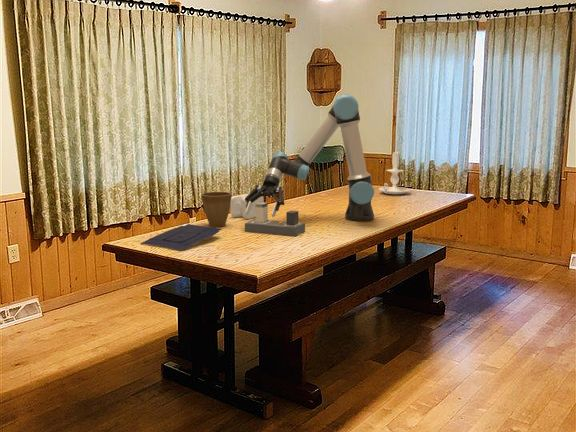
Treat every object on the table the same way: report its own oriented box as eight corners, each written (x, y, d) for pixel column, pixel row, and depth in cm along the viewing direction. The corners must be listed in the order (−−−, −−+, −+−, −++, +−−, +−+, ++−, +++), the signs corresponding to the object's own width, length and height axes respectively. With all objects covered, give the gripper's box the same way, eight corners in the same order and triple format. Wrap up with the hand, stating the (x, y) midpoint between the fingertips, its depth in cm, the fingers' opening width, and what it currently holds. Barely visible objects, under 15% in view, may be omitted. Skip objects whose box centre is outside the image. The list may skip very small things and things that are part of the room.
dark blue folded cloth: (226, 235, 279) (225, 227, 278) (182, 257, 255) (181, 248, 254) (185, 229, 291) (184, 221, 290) (140, 249, 267) (139, 241, 266)
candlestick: (369, 195, 397) (370, 152, 392) (387, 190, 417) (388, 149, 411) (398, 198, 385) (400, 153, 380) (415, 193, 405) (417, 150, 399)
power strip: (305, 231, 292) (305, 210, 290) (295, 236, 281) (295, 214, 279) (255, 226, 302) (255, 206, 300) (244, 231, 291) (244, 210, 289)
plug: (267, 227, 296) (267, 202, 293) (263, 229, 291) (263, 204, 289) (260, 226, 297) (260, 202, 295) (255, 228, 293) (255, 203, 290)
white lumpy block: (243, 220, 317) (243, 198, 315) (229, 217, 324) (229, 196, 322) (264, 216, 328) (263, 195, 325) (250, 213, 335) (250, 192, 332)
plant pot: (235, 223, 310) (235, 191, 307) (226, 229, 296) (225, 196, 293) (208, 221, 314) (207, 190, 310) (197, 227, 299) (196, 195, 296)
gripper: (298, 185, 299) (286, 221, 289) (252, 182, 309) (238, 217, 298) (293, 175, 294) (281, 212, 283) (247, 173, 303) (233, 208, 293)
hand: (259, 214), depth 291 cm, fingers open, 13 cm apart
